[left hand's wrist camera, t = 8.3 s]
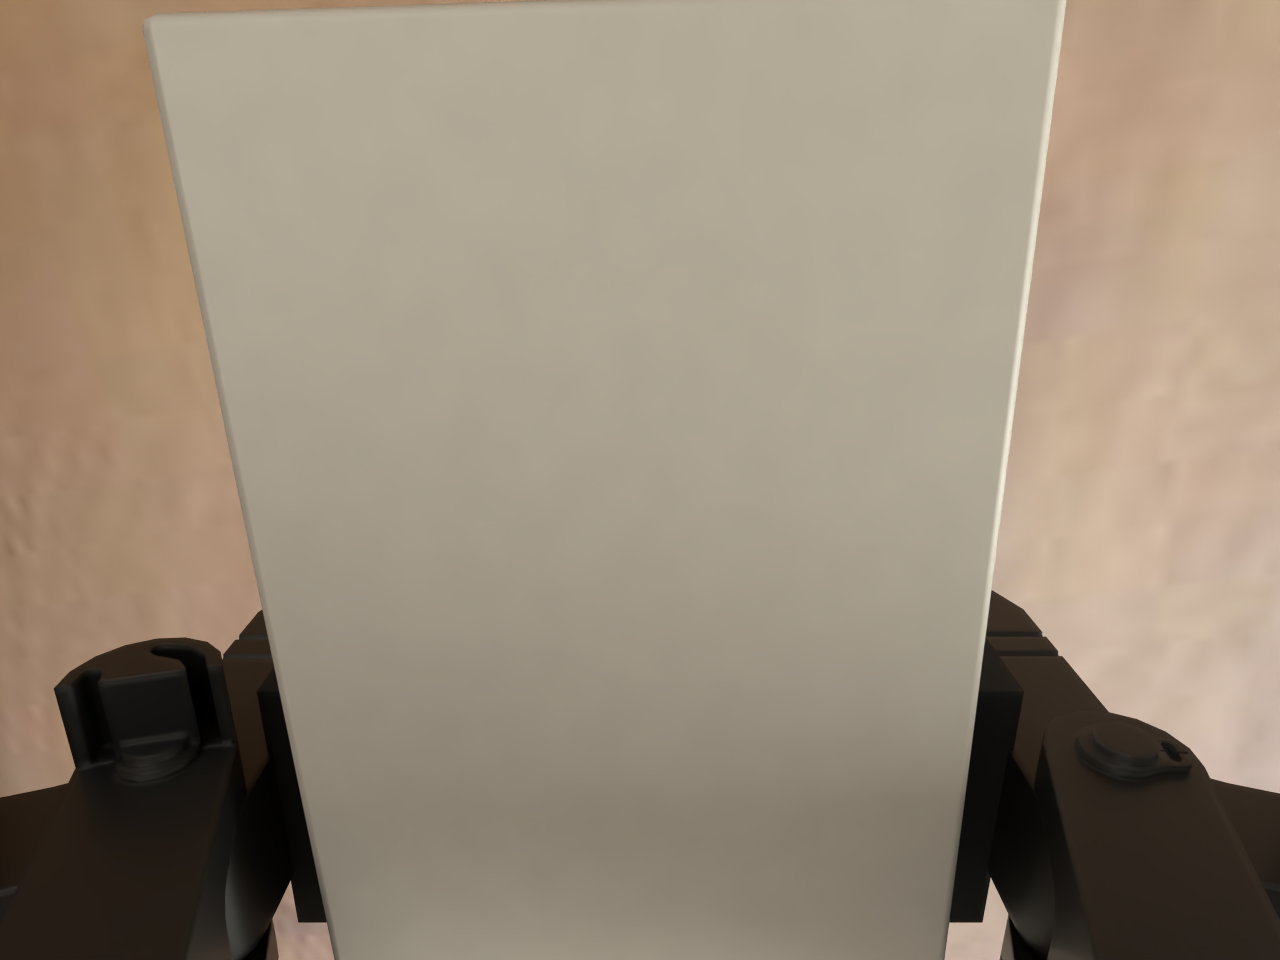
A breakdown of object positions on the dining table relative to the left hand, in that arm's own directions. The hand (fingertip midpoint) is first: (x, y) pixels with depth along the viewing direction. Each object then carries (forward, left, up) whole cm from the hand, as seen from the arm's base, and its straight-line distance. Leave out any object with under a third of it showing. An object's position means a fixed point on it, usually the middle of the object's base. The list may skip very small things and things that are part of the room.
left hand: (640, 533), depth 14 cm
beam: (+26, +12, -1) cm, 28 cm away
